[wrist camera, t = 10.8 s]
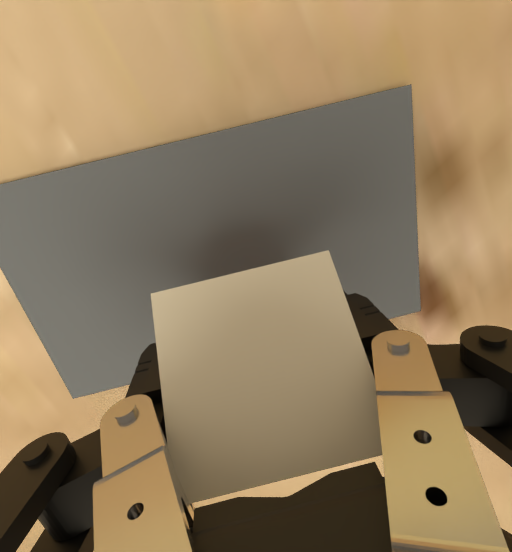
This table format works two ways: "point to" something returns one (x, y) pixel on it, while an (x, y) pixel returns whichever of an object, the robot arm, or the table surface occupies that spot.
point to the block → (263, 377)
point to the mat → (211, 226)
